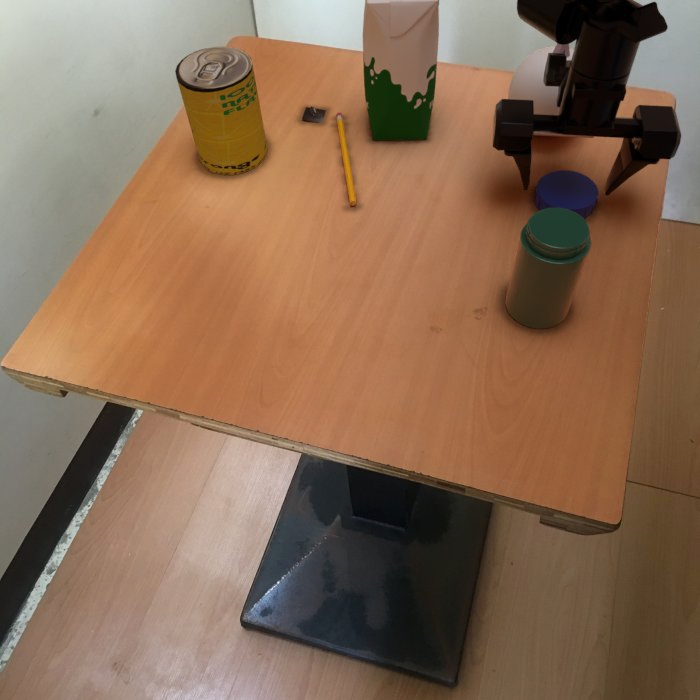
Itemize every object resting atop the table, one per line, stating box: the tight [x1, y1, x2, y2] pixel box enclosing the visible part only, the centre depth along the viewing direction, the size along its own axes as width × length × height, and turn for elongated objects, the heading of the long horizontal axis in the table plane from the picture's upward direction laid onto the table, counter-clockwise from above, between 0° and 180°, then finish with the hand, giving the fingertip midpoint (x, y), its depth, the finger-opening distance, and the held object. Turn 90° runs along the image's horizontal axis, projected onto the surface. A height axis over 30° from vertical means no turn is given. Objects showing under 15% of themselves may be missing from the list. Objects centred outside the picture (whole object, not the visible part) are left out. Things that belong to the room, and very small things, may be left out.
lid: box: [533, 169, 599, 219], centre depth 75 cm, size 7×7×2 cm
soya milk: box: [362, 0, 440, 141], centre depth 79 cm, size 9×9×20 cm
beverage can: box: [174, 46, 269, 176], centre depth 80 cm, size 9×9×12 cm
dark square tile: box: [301, 106, 327, 124], centre depth 88 cm, size 3×3×1 cm
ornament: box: [507, 43, 574, 115], centre depth 80 cm, size 10×10×12 cm
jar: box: [504, 208, 592, 330], centre depth 63 cm, size 6×6×11 cm
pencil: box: [335, 112, 357, 207], centre depth 82 cm, size 1×18×1 cm, turn 6°
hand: (565, 190), depth 75 cm, fingers open, 9 cm apart
